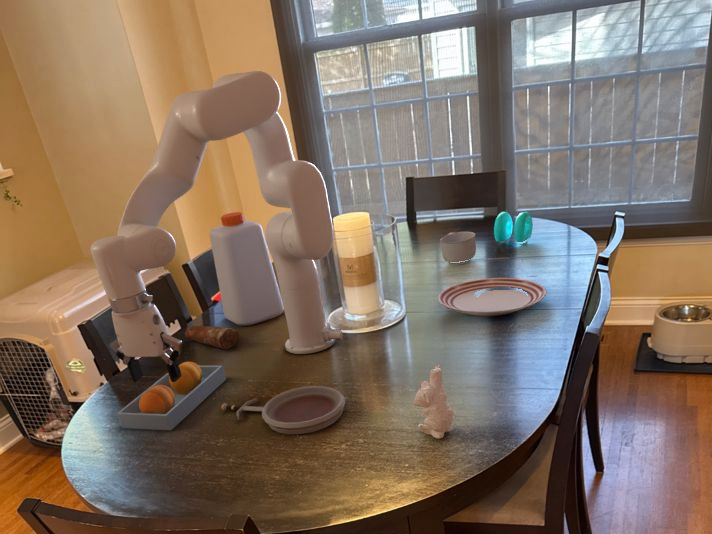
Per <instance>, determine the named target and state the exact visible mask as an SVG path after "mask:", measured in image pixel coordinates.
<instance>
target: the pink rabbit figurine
mask: <svg viewBox="0 0 712 534" xmlns="http://www.w3.org/2000/svg"><path fill="white" fill-rule="evenodd" d="M442 373H443V370H442V368H441V365H435V366H434V368H432V369H430V373H429V382H428V381H426V380H424V381H422V382H421V386H420V388H419V389H418V391H417V392H416V394H415V397H414V400H413V402H412V403H413V405H414V406H416V407H422V413H423V414H424V415H425V416H426V418H424V420H423V423H419V424H418V425H417V427H418V429H419V430H421V431H422V432H423V433H424V434H425V435H427V436H428V435H429V436H432V437H433V438H434V439H438V440H441V439H443V437H444V436H445V433H447V432H452V431H454V427H452V424H453V419H454V416H455V415H454V410H453V408H452V407H451V406H450V404H447V402H446V401H447V400H448V394H447V391H446V390H445V388H444V387H443V374H442Z"/></svg>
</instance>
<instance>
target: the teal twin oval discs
mask: <svg viewBox="0 0 712 534" xmlns="http://www.w3.org/2000/svg"><path fill="white" fill-rule="evenodd" d="M533 223H534V222H533V217H532V215H531V214H530V213H529V211H523V212H520V213H519V214H518V215H517V217H516V218H515V222H514V224H513V220H512V216H511V215H510V213H509V212H507V211H501V212H500V213H499V214H498V215H497V217H496V218H495V221H494V225H493V236H494V239H495V242H497V241H498V242H500V241H505V240H507V239H509V238H510V239H511V237H512V234H513V236H514V240H515V242H516V243H517V242H523V241H525V240H527V239H528V238H530V239H531V237H532V233H533V225H534V224H533ZM510 239H509V240H508V241H507V242H505V243H498V245H502V244H503V245H505V244H507V243H508V242H509V241H510ZM527 244H528V242H526V243H523V244H519V245H520V246H525V245H527Z"/></svg>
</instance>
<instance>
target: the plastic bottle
mask: <svg viewBox="0 0 712 534" xmlns="http://www.w3.org/2000/svg"><path fill="white" fill-rule="evenodd" d="M220 221H221V225H218V226H215V227H212V228H211V229H210V230H209V239H210V244H211V251H212V256H213V260H214V261H213V263H214V267H215V272H216V278H217V282H218V284H217V285H218V288H219V294H220V299H221V305H222V311H223V316H224V318H225V319H226V320H228V321H230V322H232V323H233V324H235V325H237V326H240V327H249V326H254V325H256V324H259V323H262V322H265V321H268V320H272V319H274V318H277V317H279V316H281V315H282V314H284V307H283V302H282V297H281V292H280V287H279V283H278V280H277V277H276V274H275V269H274V267H273V263H272V262H273V261H272V258H271V254H270V251H269V249H268V246H267V243H266V237H265V233H264V230H263V227H262V225H261V224H260V223H258V222H255V221H251V220H245V216H244V213H243V212H241V211H235V212H229V213H226V214H223V215H222V216H221V217H220Z"/></svg>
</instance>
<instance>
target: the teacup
mask: <svg viewBox="0 0 712 534" xmlns="http://www.w3.org/2000/svg"><path fill="white" fill-rule="evenodd" d="M439 242H440V248H441V249H440V250H441V254H442V258H443V260H444V261H445V262H447V261H448V262H447V263H448V264H450V265H454V266H458V265H459V266H460V265H464V264H467V263H470V262H471V260H472V259H473V258H474V257H475V256H476V251H477V242H476V233H475V232H473V231H458V232H453V231H451V232H449V233H448V234H446V235H444V236H442V237H441V238H440V239H439ZM471 258H472V259H471ZM469 259H471V260H469ZM465 260H469V261H465ZM459 261H465V262H460V263H450V262H459Z"/></svg>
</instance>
